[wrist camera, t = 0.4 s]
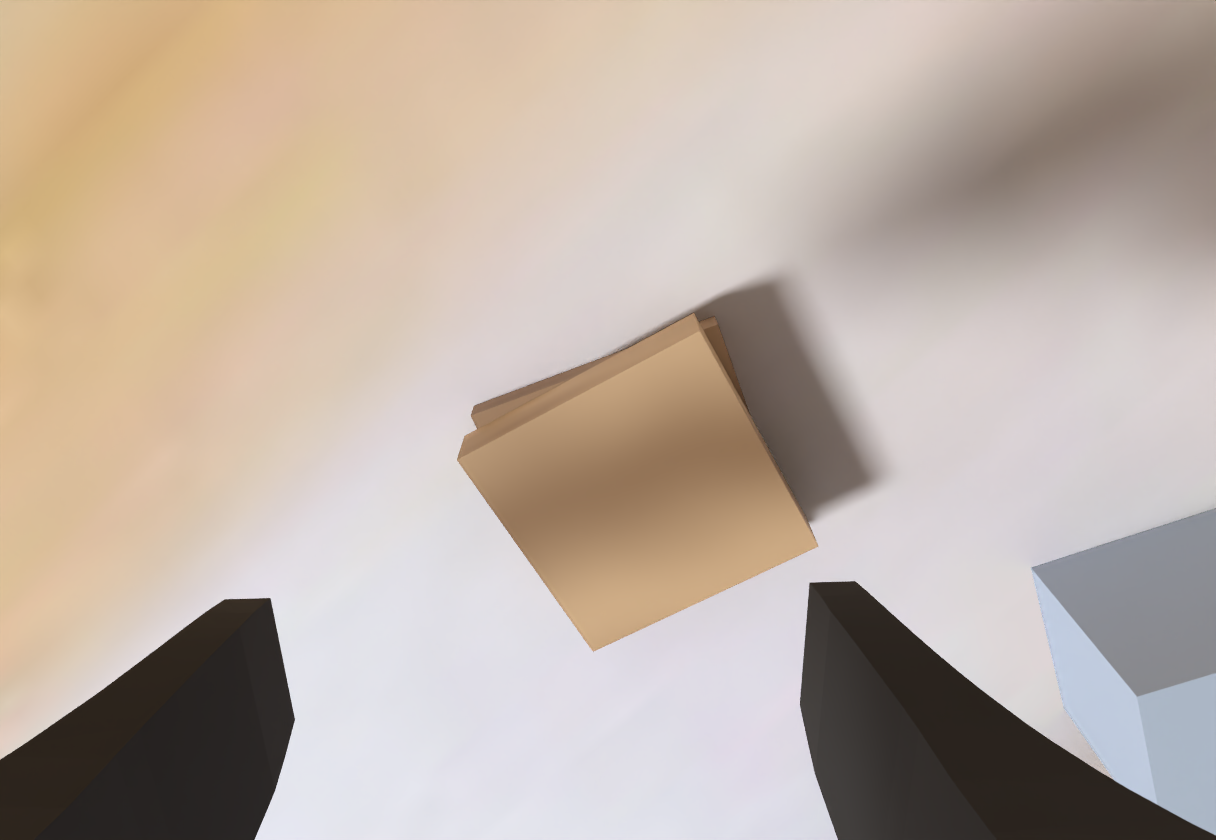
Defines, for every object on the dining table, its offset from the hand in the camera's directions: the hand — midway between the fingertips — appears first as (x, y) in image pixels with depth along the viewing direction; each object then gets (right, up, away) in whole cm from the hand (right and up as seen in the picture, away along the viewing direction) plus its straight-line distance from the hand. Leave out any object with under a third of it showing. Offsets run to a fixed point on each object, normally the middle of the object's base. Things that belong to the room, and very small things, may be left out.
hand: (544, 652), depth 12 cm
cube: (+15, -2, +12) cm, 19 cm away
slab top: (+2, +2, +9) cm, 10 cm away
